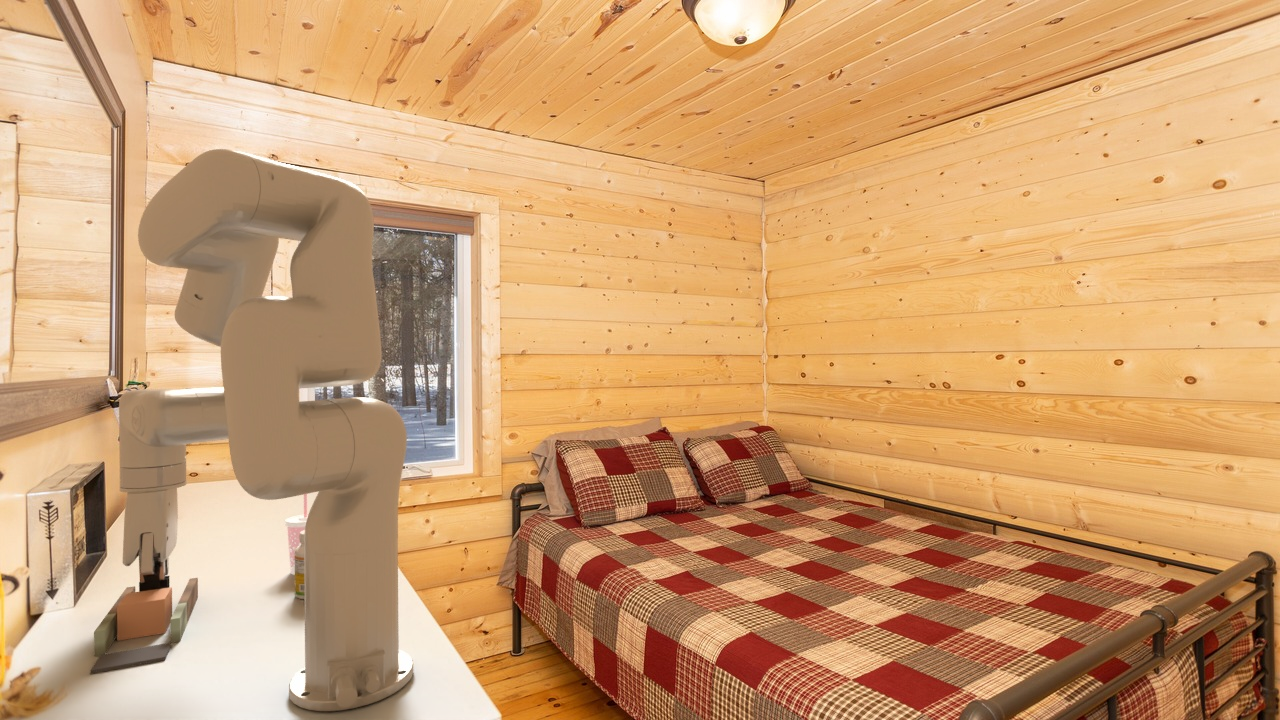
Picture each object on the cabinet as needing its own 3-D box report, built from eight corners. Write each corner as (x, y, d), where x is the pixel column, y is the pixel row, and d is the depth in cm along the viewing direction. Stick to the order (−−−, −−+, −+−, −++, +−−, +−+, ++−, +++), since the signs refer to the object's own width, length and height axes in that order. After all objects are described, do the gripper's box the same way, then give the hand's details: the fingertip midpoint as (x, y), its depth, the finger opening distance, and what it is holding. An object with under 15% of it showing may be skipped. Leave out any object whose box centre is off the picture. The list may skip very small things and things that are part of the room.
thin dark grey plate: (165, 660, 78) (165, 656, 78) (90, 673, 75) (90, 670, 75) (171, 645, 82) (171, 642, 82) (100, 658, 79) (100, 654, 79)
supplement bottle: (326, 585, 104) (326, 524, 104) (339, 593, 100) (338, 530, 100) (290, 593, 100) (289, 530, 100) (301, 603, 96) (300, 537, 96)
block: (165, 633, 86) (164, 598, 86) (117, 640, 83) (117, 605, 83) (172, 619, 90) (171, 587, 90) (127, 626, 88) (127, 593, 88)
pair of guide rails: (180, 641, 83) (179, 617, 83) (94, 656, 79) (94, 631, 79) (197, 597, 99) (197, 577, 99) (126, 608, 95) (126, 587, 94)
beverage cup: (325, 573, 109) (325, 490, 109) (284, 578, 107) (283, 493, 107) (325, 563, 115) (325, 484, 115) (286, 568, 112) (285, 487, 112)
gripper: (132, 471, 96) (133, 594, 96) (105, 489, 83) (106, 632, 83) (193, 466, 99) (194, 586, 99) (177, 483, 86) (178, 621, 86)
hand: (154, 607), depth 91 cm, fingers closed
